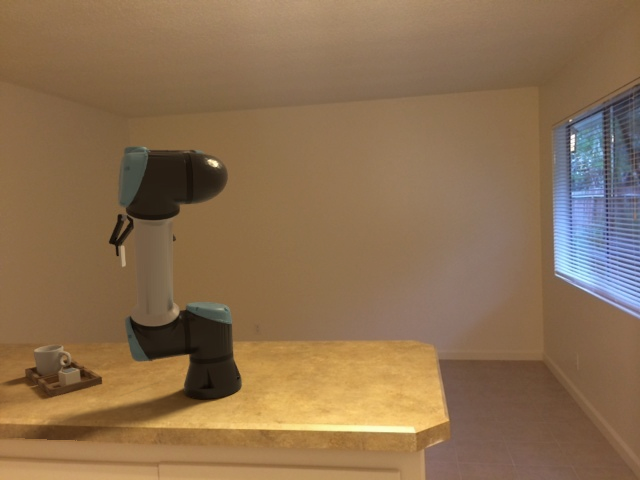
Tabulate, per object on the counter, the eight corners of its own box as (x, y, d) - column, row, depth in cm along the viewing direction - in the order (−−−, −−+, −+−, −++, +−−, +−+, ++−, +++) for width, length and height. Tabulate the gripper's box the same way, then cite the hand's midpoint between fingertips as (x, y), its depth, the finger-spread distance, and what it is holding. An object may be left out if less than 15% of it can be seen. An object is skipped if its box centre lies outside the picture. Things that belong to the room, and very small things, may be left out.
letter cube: (80, 383, 140) (79, 369, 140) (66, 388, 137) (65, 373, 137) (73, 381, 143) (72, 367, 142) (59, 385, 139) (58, 371, 139)
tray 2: (102, 385, 140) (101, 377, 139) (51, 399, 131) (51, 390, 130) (86, 375, 149) (85, 367, 149) (38, 387, 140) (37, 379, 140)
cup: (79, 369, 153) (77, 344, 153) (63, 378, 145) (61, 351, 145) (46, 369, 154) (44, 344, 154) (29, 378, 147) (27, 352, 146)
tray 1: (85, 375, 150) (84, 366, 150) (37, 387, 141) (36, 378, 141) (71, 366, 159) (70, 358, 159) (25, 377, 150) (25, 369, 150)
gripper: (183, 196, 157) (187, 262, 158) (105, 199, 157) (110, 265, 159) (175, 195, 149) (180, 265, 150) (94, 199, 150) (99, 268, 151)
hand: (144, 265), depth 155 cm, fingers open, 13 cm apart
